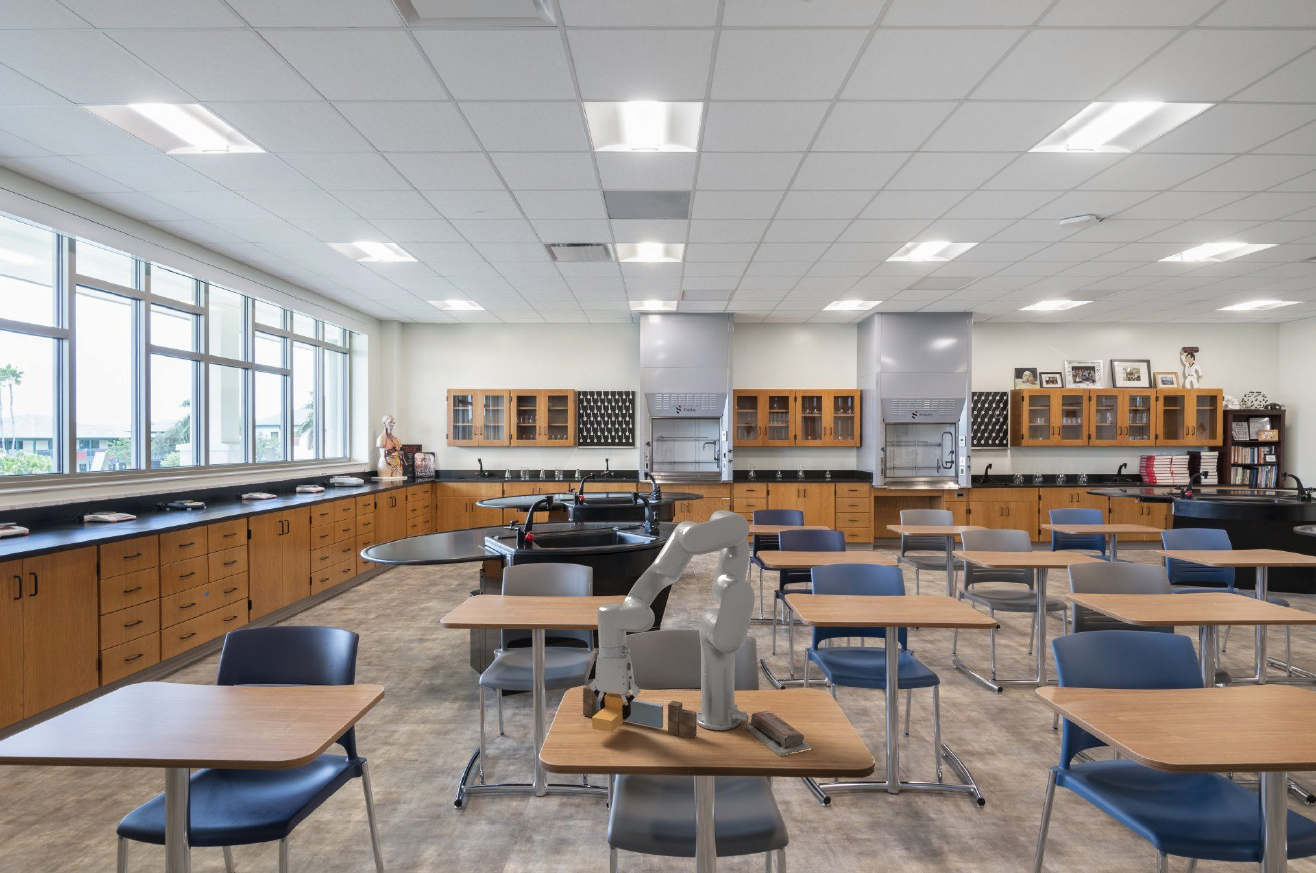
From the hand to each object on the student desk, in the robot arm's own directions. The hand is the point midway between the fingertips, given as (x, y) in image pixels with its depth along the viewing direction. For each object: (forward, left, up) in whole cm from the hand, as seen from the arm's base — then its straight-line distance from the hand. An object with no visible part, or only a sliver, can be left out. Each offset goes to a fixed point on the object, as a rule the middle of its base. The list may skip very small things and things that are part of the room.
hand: (615, 715), depth 173 cm
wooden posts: (-3, -7, -4) cm, 9 cm away
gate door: (0, -7, -4) cm, 8 cm away
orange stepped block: (0, +2, -1) cm, 2 cm away
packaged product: (-41, -16, -5) cm, 44 cm away
